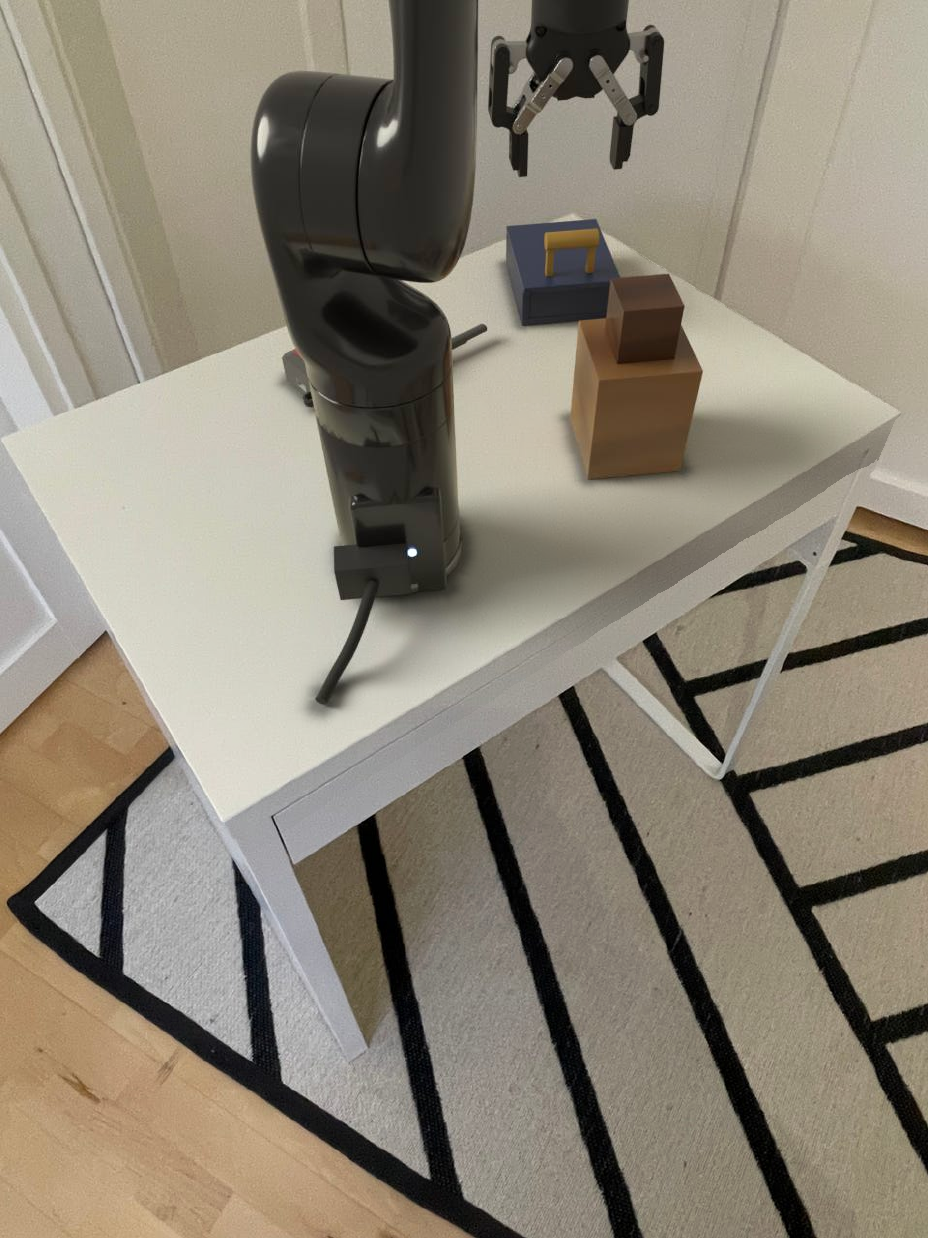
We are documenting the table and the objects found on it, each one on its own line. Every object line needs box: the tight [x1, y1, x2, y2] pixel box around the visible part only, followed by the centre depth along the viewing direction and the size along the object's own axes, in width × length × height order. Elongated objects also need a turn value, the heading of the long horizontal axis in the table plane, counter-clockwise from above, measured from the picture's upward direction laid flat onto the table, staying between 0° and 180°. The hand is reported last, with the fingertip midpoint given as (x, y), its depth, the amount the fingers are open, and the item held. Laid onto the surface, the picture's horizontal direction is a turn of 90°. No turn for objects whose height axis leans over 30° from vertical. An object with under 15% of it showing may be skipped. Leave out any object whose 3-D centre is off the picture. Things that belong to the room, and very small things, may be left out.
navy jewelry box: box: [505, 232, 610, 326], centre depth 89 cm, size 12×10×4 cm
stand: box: [569, 318, 704, 480], centre depth 71 cm, size 8×8×10 cm
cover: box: [505, 218, 622, 294], centre depth 85 cm, size 12×10×5 cm
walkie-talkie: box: [281, 323, 488, 408], centre depth 81 cm, size 9×4×20 cm
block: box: [605, 273, 685, 364], centre depth 65 cm, size 4×4×4 cm
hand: (568, 169), depth 76 cm, fingers open, 8 cm apart
